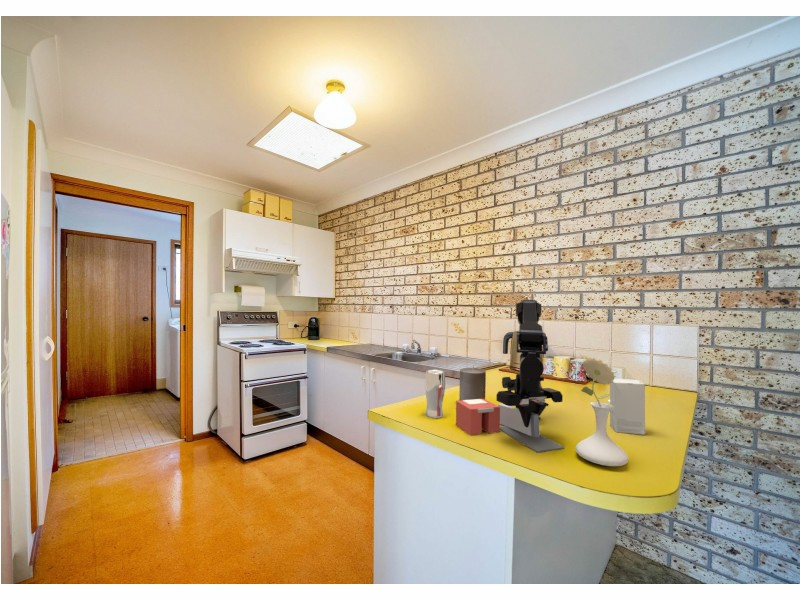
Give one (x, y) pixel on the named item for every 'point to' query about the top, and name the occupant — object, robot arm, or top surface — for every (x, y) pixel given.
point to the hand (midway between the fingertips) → (529, 426)
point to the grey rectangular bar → (518, 420)
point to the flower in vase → (600, 421)
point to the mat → (532, 440)
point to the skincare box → (627, 406)
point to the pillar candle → (472, 384)
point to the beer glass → (434, 392)
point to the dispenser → (477, 416)
